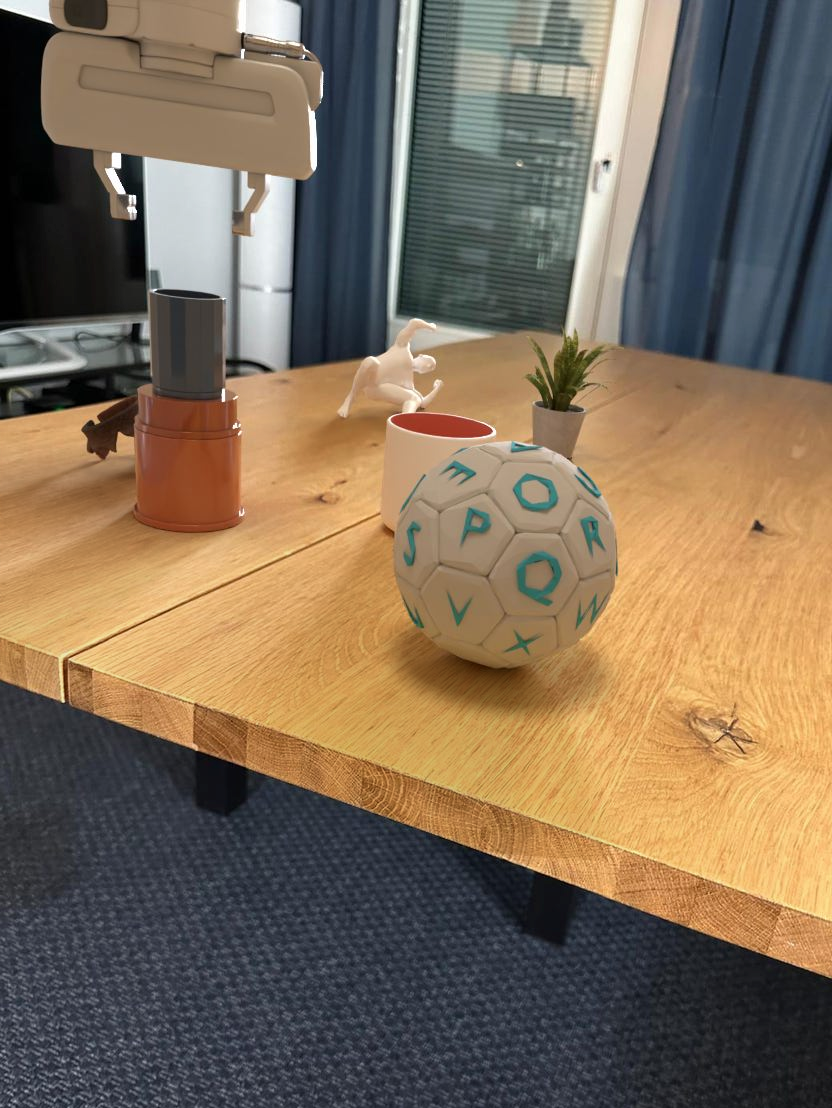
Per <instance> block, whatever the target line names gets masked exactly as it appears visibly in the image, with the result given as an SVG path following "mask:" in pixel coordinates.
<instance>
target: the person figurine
mask: <svg viewBox="0 0 832 1108" xmlns="http://www.w3.org/2000/svg"><path fill="white" fill-rule="evenodd" d="M418 330H419V331H420V330H426V331H428V332H429V333H435V332H437V325H436V324H435V323H428V322H426V321H425V320H423V319H421V318H416V317H415V318H411V319H409V321H408V323H407V325H406V326H405V327H404V328H402V329H401V330H400V331H399V332H398V334H397V335H396V337H395V341H394V344H393V345H391V346H390V348H388V350H387V351H385V352H384V353H382V354H380V355H377V356H373V355H371V356H367V357H365V358H364V359H363V360H362V361H361V362H360V366H359V368H357V369H358V370H357V371H356V373H355V375H354V377H353V381H352V382H353V383H352V387H351V389H350V392H349V394H348V395H347V396H345V400H344V402H343V403H342V405H341V406H340V407H339V408H338V410H337V414H338V416H340V418H343V419H347V418H348V417H349V415H350V411H351V408H352V407H353V405H354V403H355V399H356V397H358V395H359V394H360V393H361V392H362V391H363V394H365V396H366V397H367V398H368V399H369V400H372V401H375V402H382V403H388V404H391V405H396V406H400V407H401V413H416V412H417V409H418V408H419V409H422V408H425V409H426V408H428V406H430V405H431V404H432V403H433V401H434V400H435V398H436V396H437V395H438V394H439V393H438V392H439V391H440V390H441V389H442V387H444V382H443V381H442V380H441V379H435V380H434V382H433V384H432V387H433V390H432V391H430V392H429V393H428V394H427V395H426V396H424V397H423V395H422V393H420V391H417V390H416V389H415V386H414V385H415V384H414V378H415V377H414V376H415V375H414V372H417V373H418V374H420V375H422V374H426V373H430V372H432V371H434V370H435V368H436V366H437V365H436V364H437V363H436V360H435V358H434V357H433V356H430V355H427V354H423V353H419V354H418V356H417V357H415V358H414V357H413V354H412V353H411V351H410V348H411V345H410V342H411V341H412V340H413V338H414V337H415V335H416V331H418Z"/></svg>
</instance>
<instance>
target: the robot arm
mask: <svg viewBox="0 0 832 1108" xmlns="http://www.w3.org/2000/svg"><path fill="white" fill-rule="evenodd" d="M48 13H49V19H50V21H51V22H52V23H51V24H53V25H54V26H55V27H56V28H58V29H59V30H61V31H59V32H58V33H55V34H54V35H53V36H51V37H50V39H49V40H48V41H47V43H46V46H45V48H44V51H43V56H42V64H41V65H42V66H41V83H40V109H41V123H42V127H43V130H44V131H45V133H46V134H47V135H48V137H49V138H50V140H51V141H52V142H53V143H54V144H56V145H60V146H66V147H72V148H80V149H87V150H93V167H94V169H95V171H96V173H97V175H98V176H99V178H100V180H101V182H102V184H103V185H104V187H105V189H106V191H107V193H109V204H110V205H109V206H110V208H109V209H110V215H111V218H113V219H120V220H129V221H134V220H136V219H137V210H136V206H137V196H136V195H134V194H127V193H126V191H125V189H124V187H123V186H122V183H121V182H120V179H119V177H118V176H117V173H116V171H115V170H120V169H122V155H121V154H123V155H129V156H136V157H137V156H138V157H144V158H151V159H158V160H164V161H171V162H179V163H185V164H191V165H192V164H193V165H198V166H206V167H213V168H218V169H219V168H220V169H227V170H232V171H238V172H247V186H246V187H247V188H248V189H251V190H253V192H252V194H251V195H250V197H249V199H248V201H247V203H246V204H245V206H244V207H243V210H240V209H239V210H238V209H235V210H234V209H232V211H231V212H232V214H231V220H232V222H233V224H232V225H231V233H232V235H235V236H242V237H248V238H249V237H250V238H252V237H253V238H254V236H255V232H256V213H258V212H259V210H260V209H261V206H262V205H263V203H264V202H265V200H266V198H267V197H268V195H269V194H270V192H271V176H272V177H279V178H280V177H281V178H285V179H293V180H299V181H306V180H308V179H309V178H310V177H311V176H312V175H313V174H314V172H315V171H316V168H317V129H316V119H315V110H317V108H318V107H320V106H319V105H320V104H321V102H322V98H323V85H324V84H323V83H324V72H323V67H322V64H321V63H320V60H319V59H318V58H317V56H316V55H315V54H314V53H313V52H312V51H310V50H308V49H306V48H305V44H304V43H301V42H299V41H295V40H278V39H276V38H275V39H274V38H272V37H268V36H264V35H256V34H253V33H246V31H245V30H246V26H245V25H246V0H48ZM305 57H307V58H308V59H310V60H305Z"/></svg>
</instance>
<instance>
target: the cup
mask: <svg viewBox="0 0 832 1108" xmlns="http://www.w3.org/2000/svg"><path fill="white" fill-rule="evenodd" d="M496 439H497V431H496V429H495V428H494V427H492V426H491V425H489V424H487V423H485V422H482V421H479V420H476V419H472V418H468V417H464V416H458V415H454V414H447V413H436V412H417V411H416V412H415V413H402V412H401V413H396V414H394V415H391V416H389V417H388V418H387V419H386V428H385V442H384V444H385V445H384V454H383V467H382V481H381V482H382V483H381V494H380V508H379V513H380V514H379V515H380V518H381V520H382V522H383V524H385V526H386V527H387V528H388V529H390V531H392V532H394V533H395V531H396V529H397V522H398V520H399V518H400V516H401V514H402V512H403V511H402V512H401V513H400V511H401V508H402V506H403V504H404V503H405V501H406V500H407V498H408V497H409V495H410V494H411V492H412V491H413V489H414V488H415V487H416V485H417V484H418V482H419V481H420V479H421V478H422V476H423V475H424V474H425V475H427V474H428V473H429V472H430V470H431V469H432V468H433V467H436V466H438V465H439V464H440V463H441V462H442V461H443V459H446V458H448V457H450V456H451V455H453V454H454V453H456V452H457V451H459V450H460V449H462V448H469V447H472V446H475V445H481V444H487V443H492V442H496ZM403 510H404V509H403ZM399 513H400V515H399Z"/></svg>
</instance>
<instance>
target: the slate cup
mask: <svg viewBox="0 0 832 1108" xmlns="http://www.w3.org/2000/svg"><path fill="white" fill-rule="evenodd" d="M147 297H148V299H147V300H148V301H147V302H148V327H149V330H148V332H149V333H148V334H149V360H150V361H149V363H150V384H152V391H153V392H154V393H156V394H159V395H162V396H166V397H171V398H177V399H187V400H209V399H217V398H221V397H223V396H224V395H225V389H227V388H226V385H227V379H226V378H227V377H226V375H227V374H226V372H227V371H226V370H227V366H226V365H227V363H226V361H227V359H226V358H227V357H226V354H227V353H226V352H227V351H226V350H227V349H226V348H227V346H226V344H227V343H226V342H227V337H226V336H227V331H226V329H227V326H226V325H227V321H226V320H227V319H226V318H227V316H226V315H227V314H226V313H227V311H226V310H227V307H226V306H227V299H226V297H225V296H224V295H221V294H218V293H214V292H208V291H203V290H201V291H200V290H192V289H184V288H182V289H181V288H151V289H148V290H147Z"/></svg>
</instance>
